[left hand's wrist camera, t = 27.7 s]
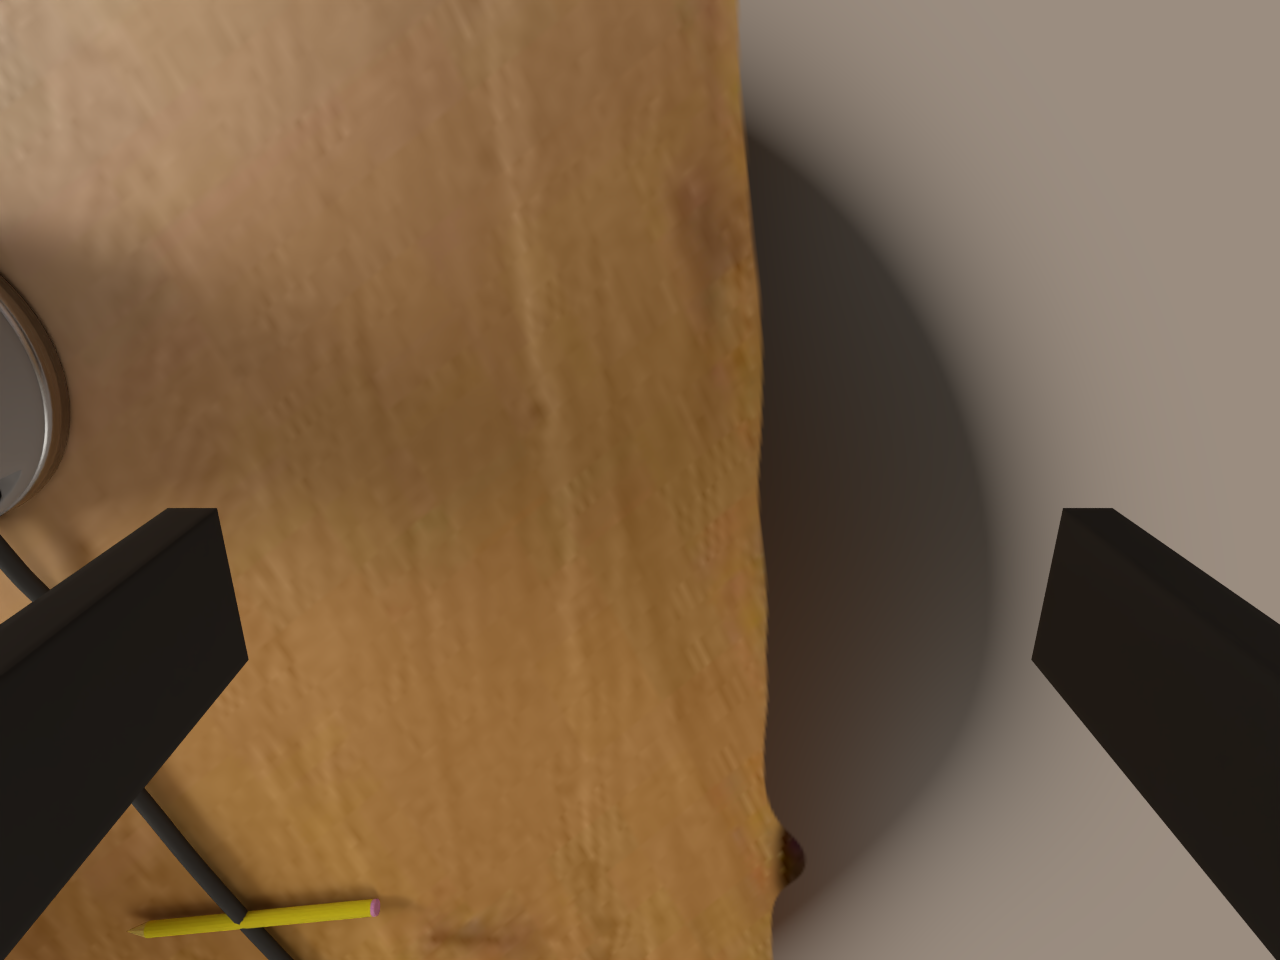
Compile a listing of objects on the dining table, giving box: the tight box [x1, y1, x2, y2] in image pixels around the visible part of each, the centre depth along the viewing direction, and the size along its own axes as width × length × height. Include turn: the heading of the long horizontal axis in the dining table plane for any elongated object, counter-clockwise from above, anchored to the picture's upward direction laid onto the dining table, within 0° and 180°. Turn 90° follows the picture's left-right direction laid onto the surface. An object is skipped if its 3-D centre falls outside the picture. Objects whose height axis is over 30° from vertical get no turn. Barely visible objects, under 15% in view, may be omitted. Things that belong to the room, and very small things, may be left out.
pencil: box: [126, 899, 380, 938], centre depth 50 cm, size 16×1×1 cm, turn 97°
